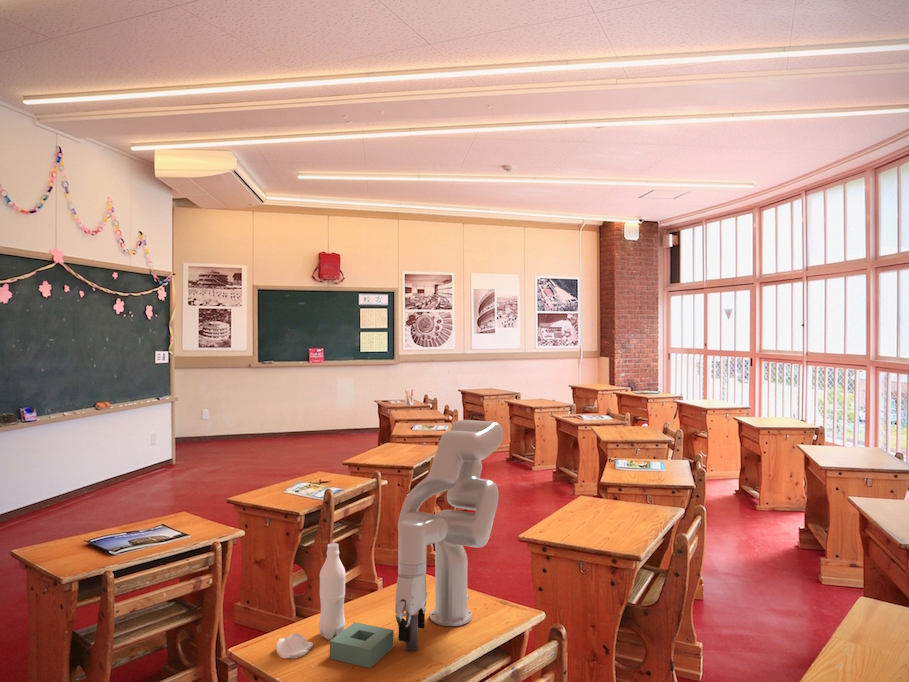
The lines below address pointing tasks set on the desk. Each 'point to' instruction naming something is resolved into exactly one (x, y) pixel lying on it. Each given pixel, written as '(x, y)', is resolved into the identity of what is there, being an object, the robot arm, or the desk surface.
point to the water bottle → (332, 594)
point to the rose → (293, 646)
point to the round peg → (413, 633)
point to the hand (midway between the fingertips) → (411, 633)
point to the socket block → (361, 644)
